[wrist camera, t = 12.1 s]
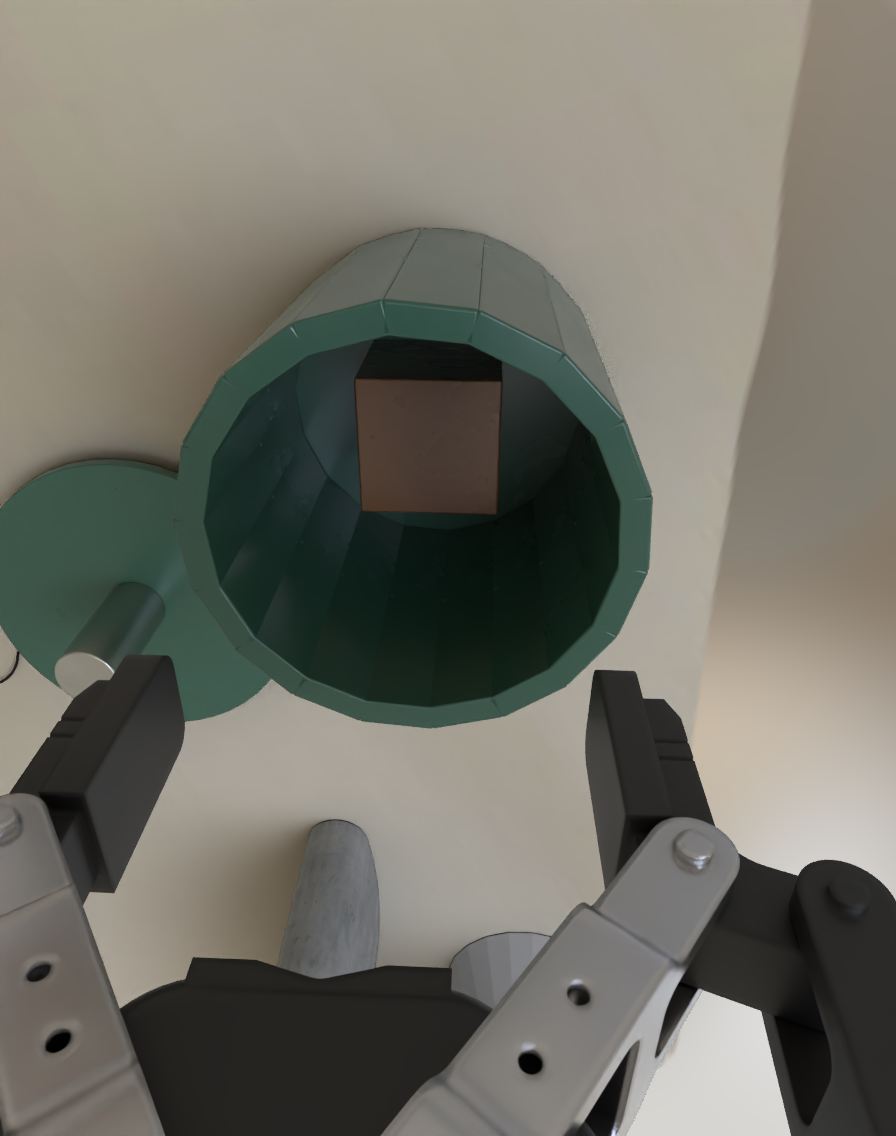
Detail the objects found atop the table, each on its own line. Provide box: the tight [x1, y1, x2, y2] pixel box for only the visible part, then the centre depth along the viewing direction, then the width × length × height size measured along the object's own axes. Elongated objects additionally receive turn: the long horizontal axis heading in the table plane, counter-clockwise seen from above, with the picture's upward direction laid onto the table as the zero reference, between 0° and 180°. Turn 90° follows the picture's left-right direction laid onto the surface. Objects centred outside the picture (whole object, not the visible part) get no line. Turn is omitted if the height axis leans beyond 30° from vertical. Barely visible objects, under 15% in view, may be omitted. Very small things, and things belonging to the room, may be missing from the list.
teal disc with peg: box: [0, 459, 271, 722], centre depth 33 cm, size 13×13×6 cm
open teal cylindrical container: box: [173, 228, 653, 728], centre depth 25 cm, size 12×12×12 cm
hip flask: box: [277, 820, 380, 979], centre depth 37 cm, size 16×4×20 cm, turn 177°
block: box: [354, 340, 503, 515], centre depth 28 cm, size 5×5×5 cm
